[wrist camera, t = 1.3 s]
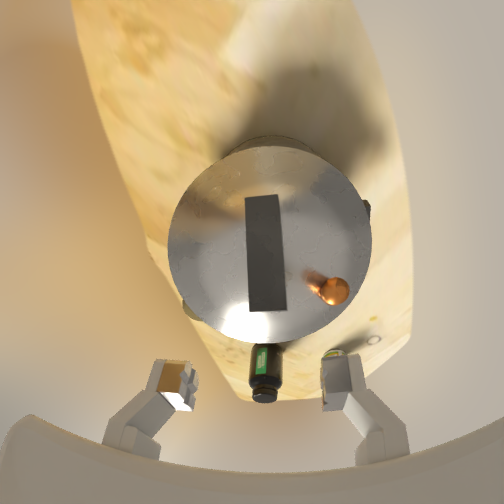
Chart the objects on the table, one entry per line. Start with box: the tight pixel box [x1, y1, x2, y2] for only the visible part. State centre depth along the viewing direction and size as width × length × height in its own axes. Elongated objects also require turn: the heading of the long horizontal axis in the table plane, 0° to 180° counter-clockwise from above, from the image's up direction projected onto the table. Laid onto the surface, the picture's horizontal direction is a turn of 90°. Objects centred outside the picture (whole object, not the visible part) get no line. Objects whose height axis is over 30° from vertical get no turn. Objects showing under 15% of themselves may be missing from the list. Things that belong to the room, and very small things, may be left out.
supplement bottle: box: [249, 343, 283, 403], centre depth 54 cm, size 7×7×12 cm
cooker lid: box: [168, 146, 372, 343], centre depth 21 cm, size 16×16×4 cm
